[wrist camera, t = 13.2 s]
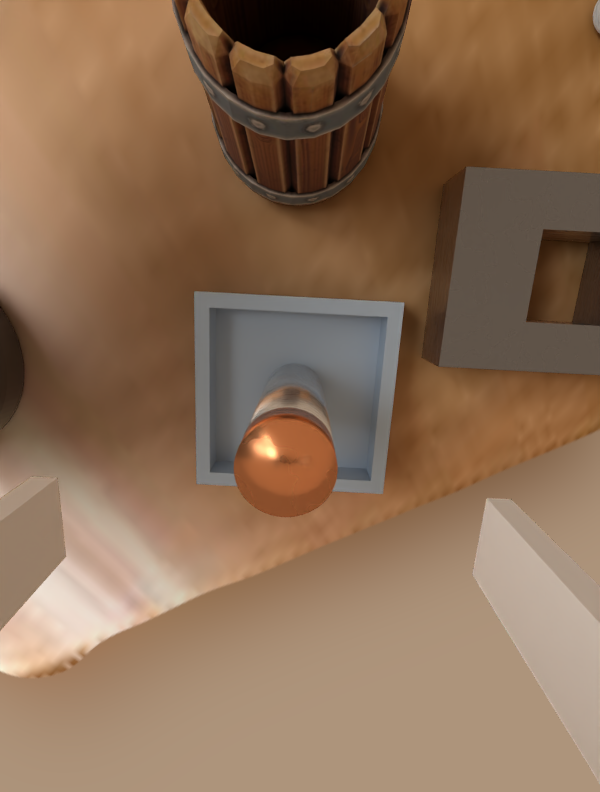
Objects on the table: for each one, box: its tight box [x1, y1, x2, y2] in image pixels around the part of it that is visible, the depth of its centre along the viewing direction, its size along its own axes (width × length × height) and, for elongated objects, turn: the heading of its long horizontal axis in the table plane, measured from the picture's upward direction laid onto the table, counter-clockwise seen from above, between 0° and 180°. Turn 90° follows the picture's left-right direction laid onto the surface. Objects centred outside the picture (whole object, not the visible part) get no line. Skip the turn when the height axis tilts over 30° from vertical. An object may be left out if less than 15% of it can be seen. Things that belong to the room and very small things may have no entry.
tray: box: [194, 291, 404, 494], centre depth 30 cm, size 14×14×3 cm
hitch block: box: [422, 167, 600, 375], centre depth 27 cm, size 16×12×4 cm
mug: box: [172, 0, 412, 206], centre depth 19 cm, size 16×11×15 cm
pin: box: [234, 363, 338, 517], centre depth 24 cm, size 4×4×14 cm
